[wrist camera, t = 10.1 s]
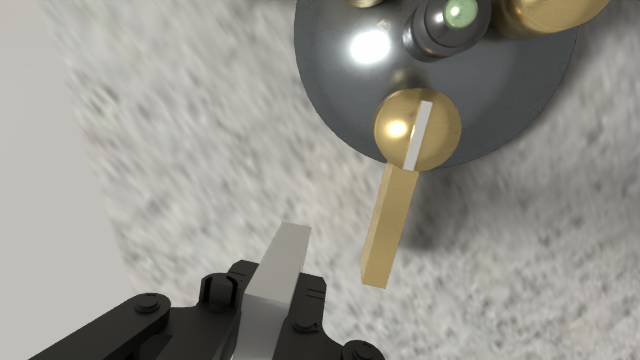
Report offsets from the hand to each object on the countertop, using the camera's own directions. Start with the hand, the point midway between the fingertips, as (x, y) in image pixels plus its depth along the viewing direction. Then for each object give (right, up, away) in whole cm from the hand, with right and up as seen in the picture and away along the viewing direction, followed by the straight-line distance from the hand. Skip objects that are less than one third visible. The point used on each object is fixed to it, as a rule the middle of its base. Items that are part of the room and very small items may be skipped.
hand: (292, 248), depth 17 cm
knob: (+7, +3, +7) cm, 10 cm away
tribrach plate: (+9, +14, +7) cm, 17 cm away
